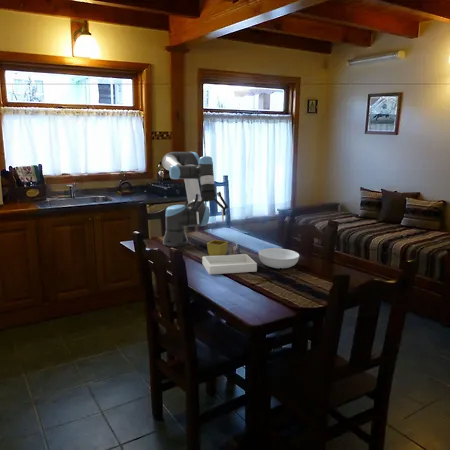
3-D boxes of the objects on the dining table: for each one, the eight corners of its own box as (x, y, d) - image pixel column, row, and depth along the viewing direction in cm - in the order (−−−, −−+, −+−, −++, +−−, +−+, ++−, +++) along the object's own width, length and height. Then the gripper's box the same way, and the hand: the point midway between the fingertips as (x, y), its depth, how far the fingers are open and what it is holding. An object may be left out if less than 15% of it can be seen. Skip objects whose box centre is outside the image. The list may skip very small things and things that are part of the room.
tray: (202, 263, 222) (202, 256, 221) (246, 261, 228) (246, 254, 227) (209, 274, 206) (209, 266, 205) (256, 271, 212) (256, 263, 211)
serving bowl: (297, 274, 210) (298, 260, 208) (255, 270, 214) (256, 257, 212) (299, 261, 230) (300, 249, 228) (260, 258, 234) (261, 246, 232)
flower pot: (206, 258, 231) (206, 242, 229) (214, 255, 239) (214, 239, 237) (220, 261, 227) (220, 245, 225) (228, 257, 235) (228, 241, 233)
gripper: (184, 185, 231) (187, 224, 229) (230, 180, 230) (233, 219, 228) (186, 188, 239) (188, 225, 236) (230, 183, 238) (233, 221, 235)
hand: (210, 222), depth 232 cm, fingers open, 13 cm apart
